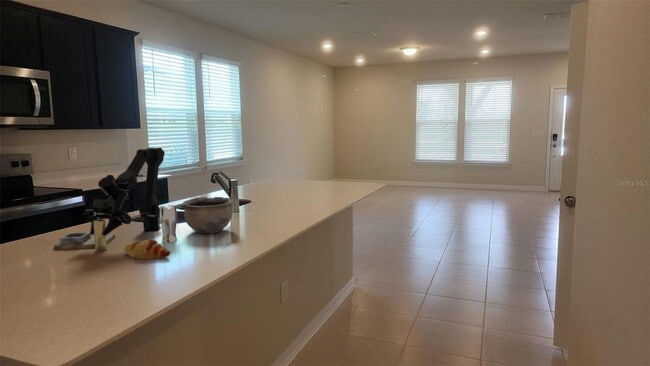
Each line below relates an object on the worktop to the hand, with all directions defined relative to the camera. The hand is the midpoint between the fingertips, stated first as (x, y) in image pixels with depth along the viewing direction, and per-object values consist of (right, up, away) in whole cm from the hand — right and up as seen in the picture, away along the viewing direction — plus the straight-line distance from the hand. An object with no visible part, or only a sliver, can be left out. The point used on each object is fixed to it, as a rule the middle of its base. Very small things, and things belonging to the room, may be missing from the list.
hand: (97, 234), depth 162 cm
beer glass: (+22, -5, +16) cm, 28 cm away
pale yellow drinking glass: (0, -6, +2) cm, 7 cm away
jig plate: (-12, -5, +12) cm, 18 cm away
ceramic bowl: (+35, -3, +32) cm, 47 cm away
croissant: (+21, -8, -4) cm, 23 cm away
